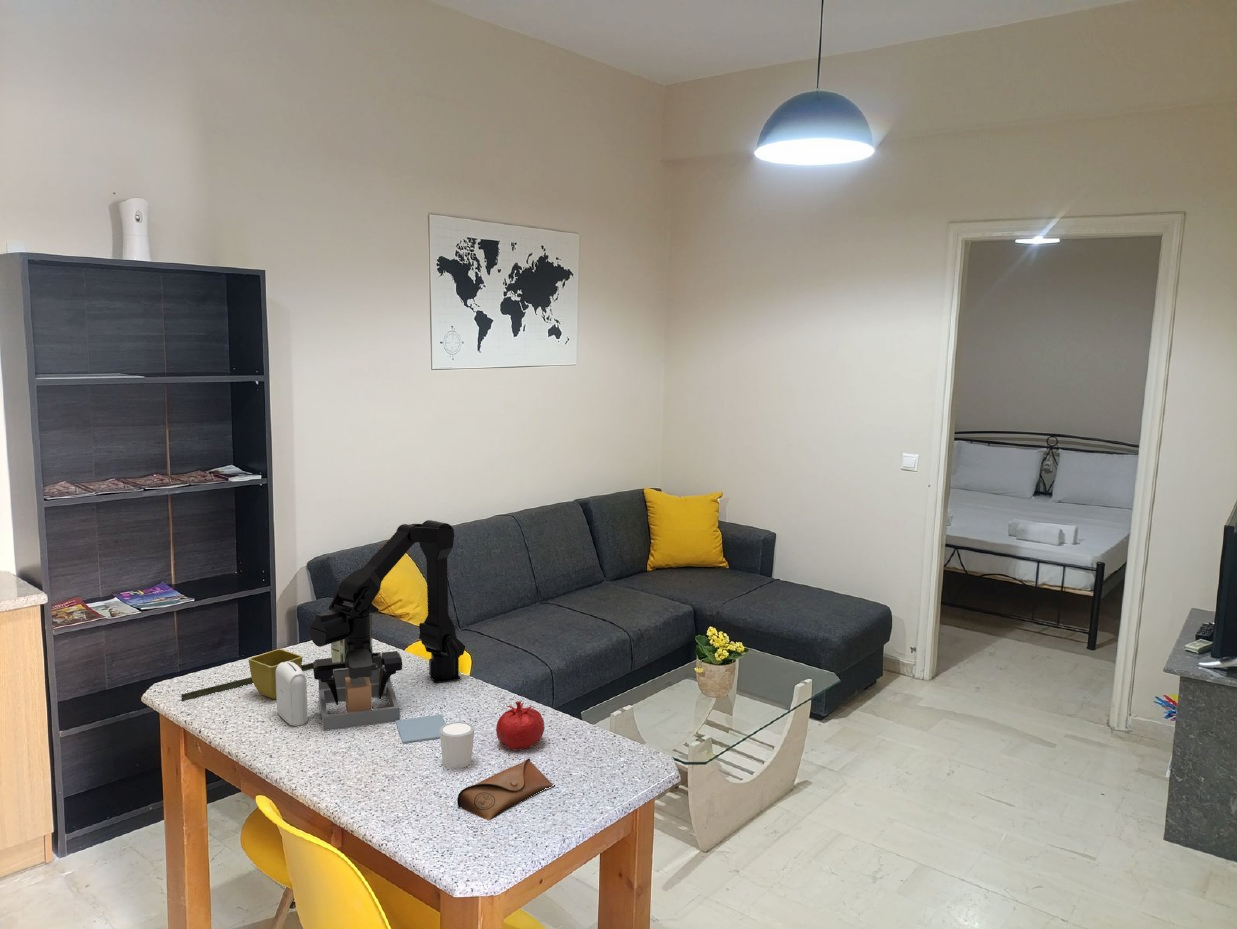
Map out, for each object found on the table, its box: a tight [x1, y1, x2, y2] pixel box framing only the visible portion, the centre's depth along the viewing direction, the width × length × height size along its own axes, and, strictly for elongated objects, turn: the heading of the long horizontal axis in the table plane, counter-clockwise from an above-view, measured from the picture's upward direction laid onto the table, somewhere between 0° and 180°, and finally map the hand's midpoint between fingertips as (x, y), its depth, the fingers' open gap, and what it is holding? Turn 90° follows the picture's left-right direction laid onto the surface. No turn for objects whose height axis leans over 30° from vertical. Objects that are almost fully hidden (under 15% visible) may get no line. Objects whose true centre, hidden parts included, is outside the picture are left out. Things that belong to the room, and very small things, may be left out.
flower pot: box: [248, 648, 303, 700], centre depth 206 cm, size 9×9×9 cm
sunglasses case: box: [456, 757, 554, 821], centre depth 163 cm, size 18×7×7 cm, turn 141°
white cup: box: [439, 721, 475, 769], centre depth 175 cm, size 7×7×7 cm
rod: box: [180, 662, 313, 702], centre depth 212 cm, size 31×1×2 cm, turn 134°
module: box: [345, 677, 373, 713], centre depth 198 cm, size 5×7×7 cm
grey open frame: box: [317, 669, 401, 732], centre depth 198 cm, size 16×17×8 cm
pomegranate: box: [495, 701, 545, 751], centre depth 184 cm, size 10×10×9 cm
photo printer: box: [276, 661, 309, 727], centre depth 193 cm, size 10×4×12 cm, turn 39°
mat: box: [395, 713, 447, 744], centre depth 190 cm, size 10×11×1 cm
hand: (358, 701), depth 198 cm, fingers open, 9 cm apart
